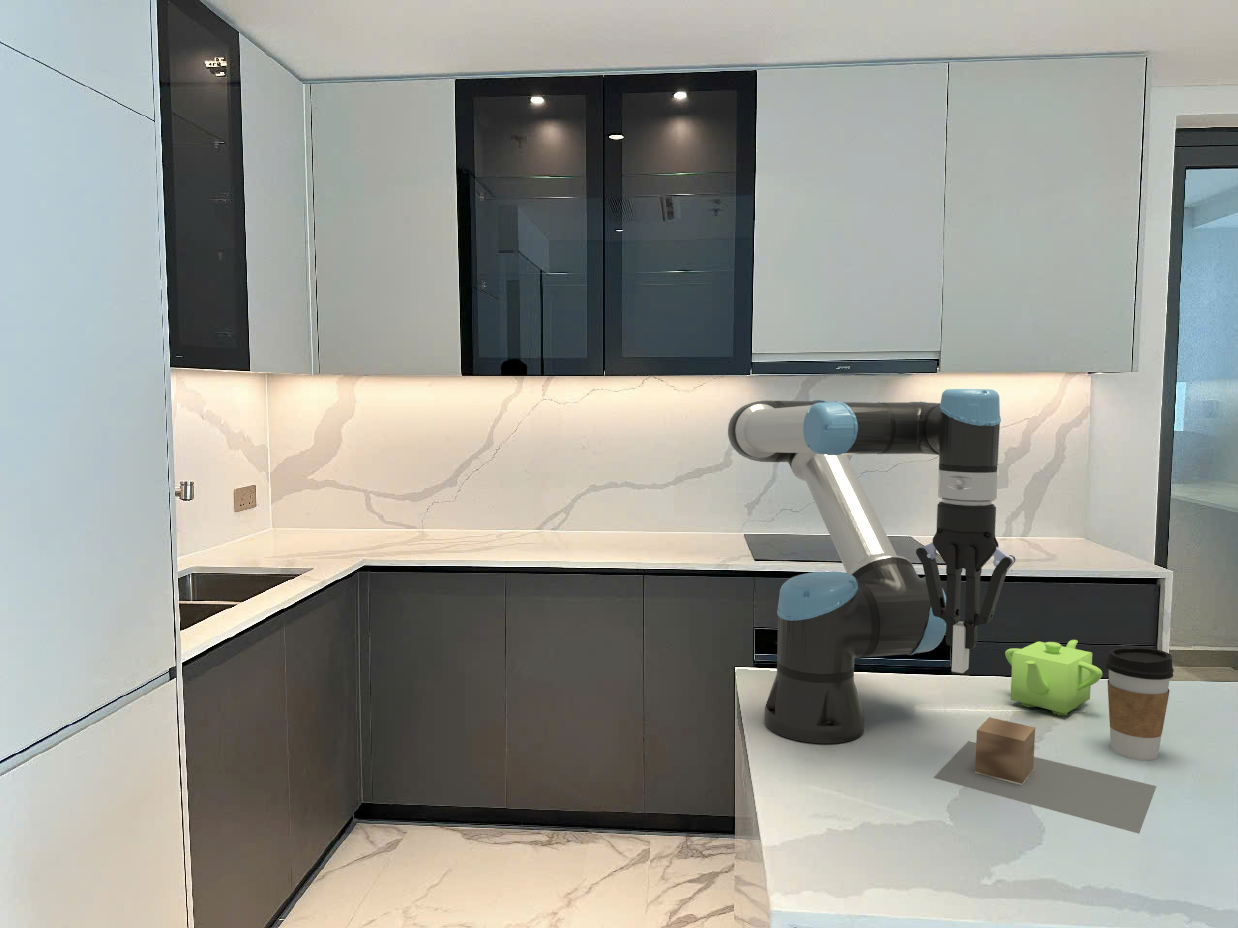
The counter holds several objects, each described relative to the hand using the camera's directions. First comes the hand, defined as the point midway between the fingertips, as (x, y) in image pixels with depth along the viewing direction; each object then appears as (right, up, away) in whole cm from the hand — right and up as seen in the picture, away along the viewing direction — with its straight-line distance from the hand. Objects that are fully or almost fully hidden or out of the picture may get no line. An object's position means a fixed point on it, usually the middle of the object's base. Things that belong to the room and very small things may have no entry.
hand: (960, 669), depth 123 cm
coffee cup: (+27, -13, +5) cm, 30 cm away
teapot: (+24, -12, +24) cm, 36 cm away
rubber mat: (+9, -14, -6) cm, 17 cm away
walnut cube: (+5, -13, -3) cm, 14 cm away
